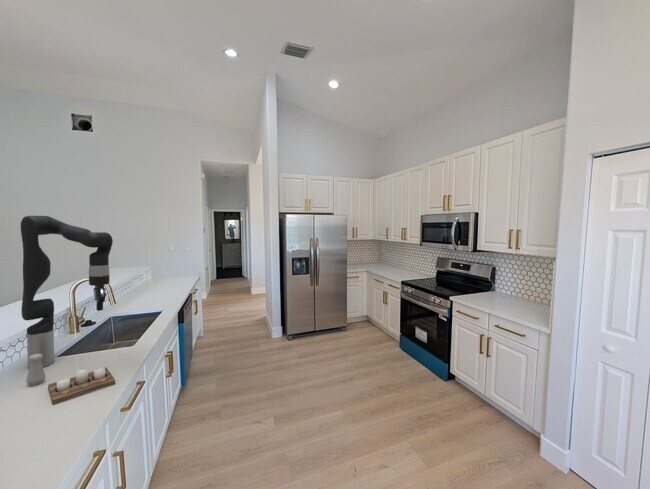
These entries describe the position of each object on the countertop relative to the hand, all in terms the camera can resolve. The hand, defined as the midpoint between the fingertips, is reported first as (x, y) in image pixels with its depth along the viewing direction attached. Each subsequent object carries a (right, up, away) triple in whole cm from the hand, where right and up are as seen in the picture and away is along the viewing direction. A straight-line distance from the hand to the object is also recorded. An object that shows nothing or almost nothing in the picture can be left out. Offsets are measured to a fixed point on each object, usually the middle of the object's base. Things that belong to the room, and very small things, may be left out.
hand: (99, 310), depth 130 cm
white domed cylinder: (-3, -31, -14) cm, 35 cm away
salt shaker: (-21, -31, -9) cm, 38 cm away
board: (0, -31, -10) cm, 33 cm away
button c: (+4, -31, -5) cm, 32 cm away
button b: (0, -29, -10) cm, 31 cm away
